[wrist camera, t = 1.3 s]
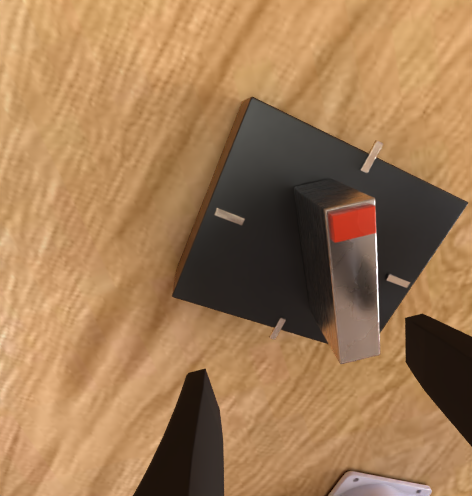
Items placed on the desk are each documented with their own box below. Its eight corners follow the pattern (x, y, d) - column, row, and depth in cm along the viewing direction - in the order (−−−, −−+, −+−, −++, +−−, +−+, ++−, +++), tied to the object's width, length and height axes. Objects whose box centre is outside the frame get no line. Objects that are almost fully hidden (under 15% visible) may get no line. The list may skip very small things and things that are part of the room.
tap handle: (341, 304, 17) (384, 359, 13) (309, 312, 17) (342, 369, 13) (330, 177, 14) (379, 199, 10) (292, 186, 14) (327, 211, 10)
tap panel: (434, 180, 18) (479, 192, 15) (339, 332, 22) (361, 365, 19) (247, 87, 15) (258, 80, 12) (172, 279, 19) (167, 308, 16)
